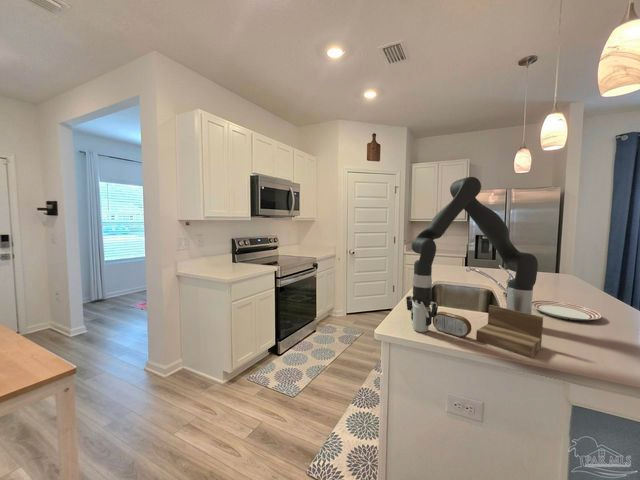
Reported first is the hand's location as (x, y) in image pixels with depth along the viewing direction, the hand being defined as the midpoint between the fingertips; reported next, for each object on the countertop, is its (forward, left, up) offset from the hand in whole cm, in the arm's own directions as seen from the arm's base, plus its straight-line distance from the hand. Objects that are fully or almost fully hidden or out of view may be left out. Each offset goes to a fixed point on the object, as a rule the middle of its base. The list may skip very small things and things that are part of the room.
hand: (420, 322), depth 120 cm
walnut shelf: (-15, +28, -3) cm, 32 cm away
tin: (-7, +10, -4) cm, 12 cm away
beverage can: (0, 0, -3) cm, 3 cm away
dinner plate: (-77, +33, -4) cm, 84 cm away
